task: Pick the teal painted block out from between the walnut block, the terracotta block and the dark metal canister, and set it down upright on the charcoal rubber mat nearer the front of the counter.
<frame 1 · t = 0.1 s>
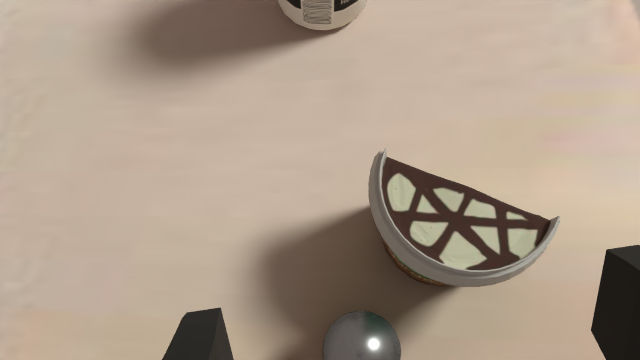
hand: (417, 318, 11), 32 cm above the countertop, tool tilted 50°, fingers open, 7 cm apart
metal canister: (357, 353, 41), on the countertop
food container: (426, 258, 43), on the countertop
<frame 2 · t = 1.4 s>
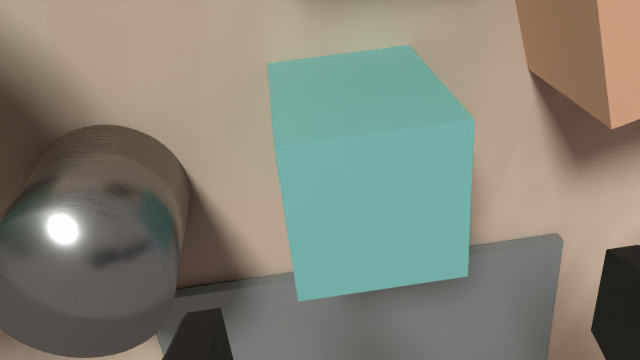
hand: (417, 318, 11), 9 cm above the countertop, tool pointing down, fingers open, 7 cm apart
teal block: (344, 119, 19), on the countertop
metal canister: (115, 192, 19), on the countertop
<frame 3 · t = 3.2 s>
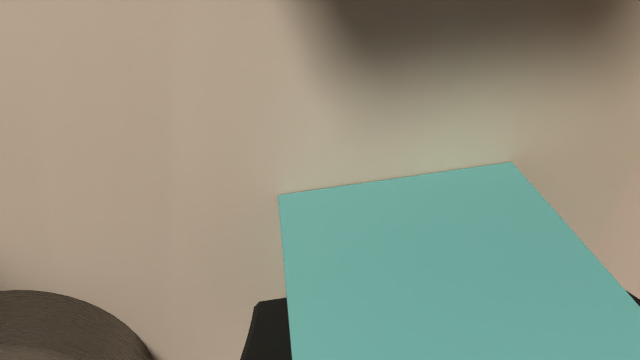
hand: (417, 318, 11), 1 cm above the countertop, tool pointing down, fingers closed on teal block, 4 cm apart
teal block: (399, 271, 12), on the countertop, touching gripper
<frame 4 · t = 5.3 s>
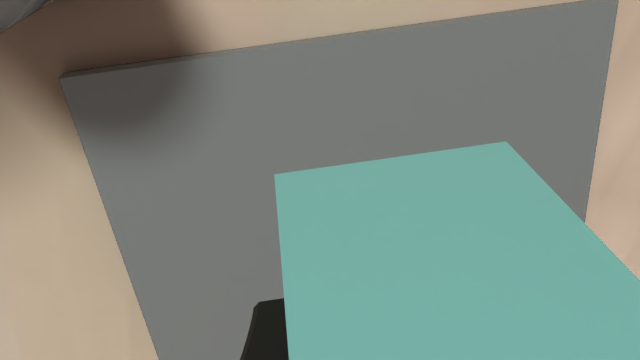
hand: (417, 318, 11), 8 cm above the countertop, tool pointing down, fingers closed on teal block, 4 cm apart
mat: (361, 253, 20), on the countertop
teal block: (395, 252, 12), point 7 cm above the countertop, touching gripper
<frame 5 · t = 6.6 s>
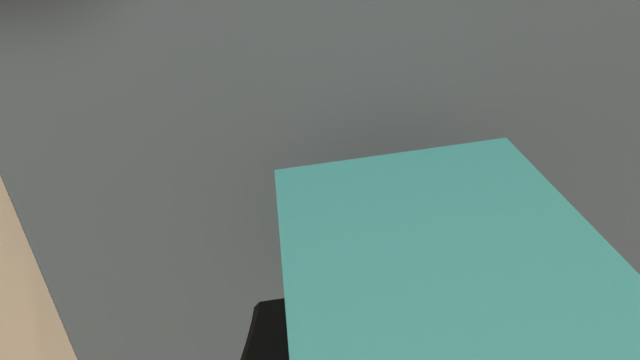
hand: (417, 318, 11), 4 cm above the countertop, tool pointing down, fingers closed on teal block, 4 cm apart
mat: (378, 211, 14), on the countertop
teal block: (395, 249, 12), point 2 cm above the countertop, touching gripper
when the fingers open (3 cm above the countertop, at t = 7.5 s): teal block drops 1 cm, resting on mat.
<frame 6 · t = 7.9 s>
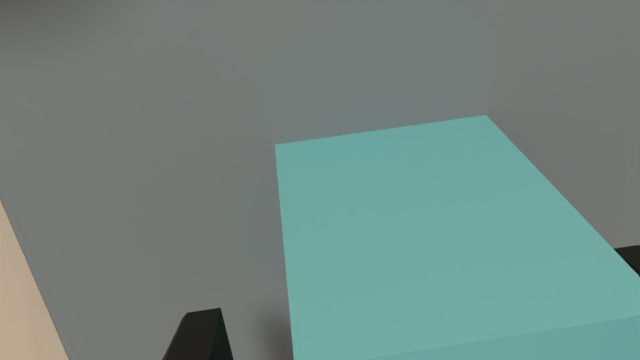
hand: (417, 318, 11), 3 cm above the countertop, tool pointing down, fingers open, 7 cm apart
mat: (380, 219, 13), on the countertop
teal block: (385, 218, 13), resting on mat
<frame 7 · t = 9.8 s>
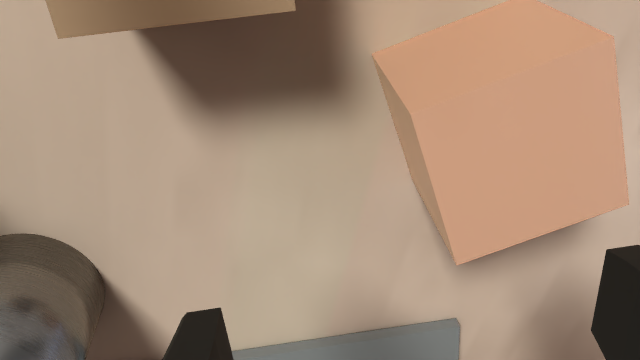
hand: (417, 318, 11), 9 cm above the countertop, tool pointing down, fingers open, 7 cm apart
terracotta block: (463, 93, 19), on the countertop
metal canister: (33, 290, 21), on the countertop
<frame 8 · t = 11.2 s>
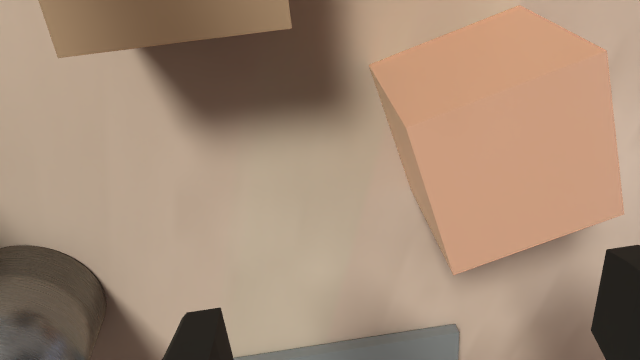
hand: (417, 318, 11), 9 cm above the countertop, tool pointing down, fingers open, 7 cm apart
terracotta block: (460, 103, 19), on the countertop
metal canister: (36, 299, 21), on the countertop
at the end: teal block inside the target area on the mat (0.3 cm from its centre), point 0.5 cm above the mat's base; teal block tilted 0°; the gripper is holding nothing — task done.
